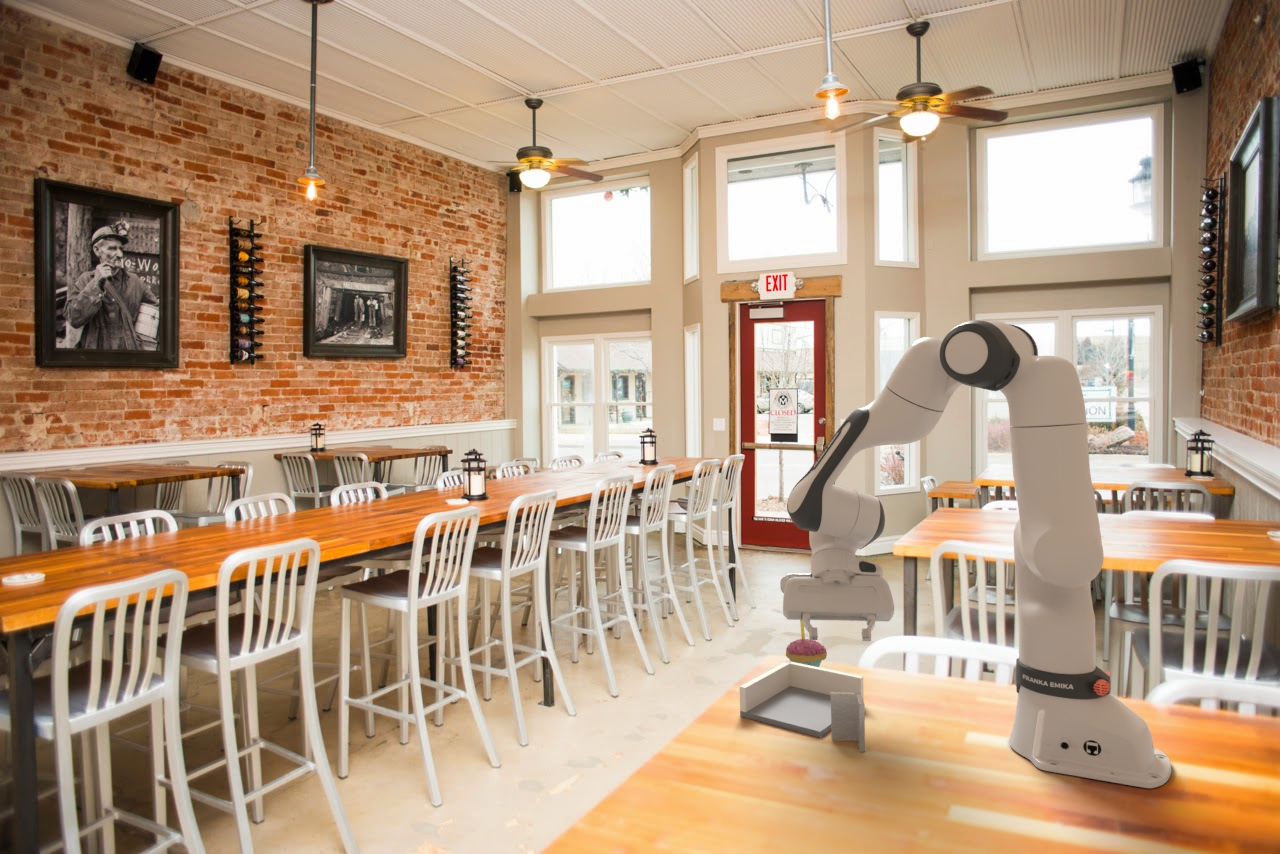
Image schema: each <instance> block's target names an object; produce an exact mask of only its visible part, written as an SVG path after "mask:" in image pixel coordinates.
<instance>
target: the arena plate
mask: <svg viewBox="0 0 1280 854" xmlns="http://www.w3.org/2000/svg"><path fill="white" fill-rule="evenodd" d="M863 701H864V700H863ZM739 714H740V715H739V716H740V717H741V718H745V719H750V720H753V721H756V720H757V722H760V721H761V722H760V723H764V724H767V723H768V724H769V725H771V724H772V726H776V727H779V728H784V729H786V730H791V731H794V732H797V733H803V734H806V735H809V736H813V737H815V738H816V737H817V738H822V737H823V736H824V735H826V734H827V733H829V732H831V695H828V694H823V693H819V692H815V691H810V690H806V689H802V688H797V687H793V686H789V687H788V688H786V689H784V690H782V691H781V692H779V693H777V694H776V695H774V696H772V697H771V698H769V699H767V700H766V701H764V702H762V703H761V704H759V705H757V706H756V707H754V708H752V709H751V710H749V711H747V712H743V711H740V710H739Z"/></svg>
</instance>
